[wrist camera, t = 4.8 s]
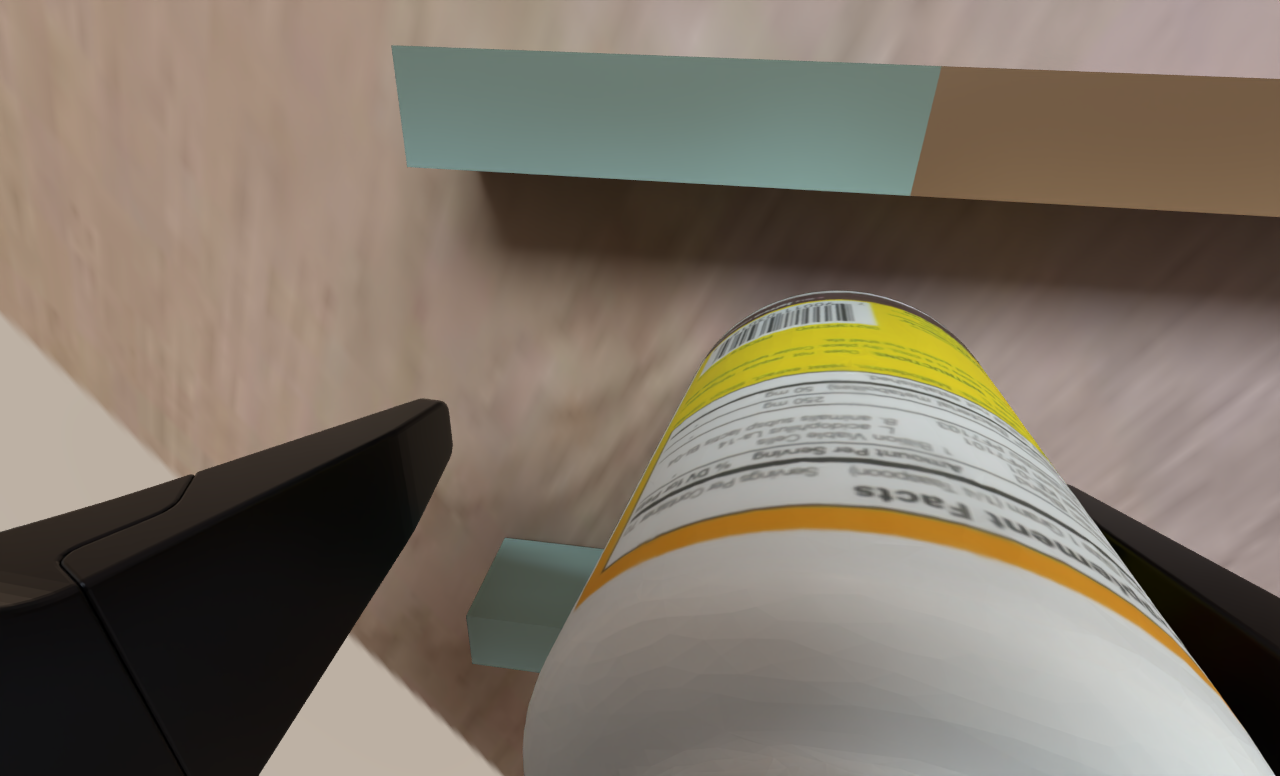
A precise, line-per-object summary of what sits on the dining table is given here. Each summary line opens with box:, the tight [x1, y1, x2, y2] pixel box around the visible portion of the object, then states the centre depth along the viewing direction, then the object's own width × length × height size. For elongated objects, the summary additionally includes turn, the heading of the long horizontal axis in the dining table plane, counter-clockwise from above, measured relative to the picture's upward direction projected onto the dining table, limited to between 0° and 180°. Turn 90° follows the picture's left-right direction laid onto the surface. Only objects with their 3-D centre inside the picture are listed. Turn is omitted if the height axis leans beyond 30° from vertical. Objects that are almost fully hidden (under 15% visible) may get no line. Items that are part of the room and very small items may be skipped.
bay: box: [391, 45, 1280, 673], centre depth 10 cm, size 12×23×2 cm, turn 87°
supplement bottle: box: [523, 291, 1275, 776], centre depth 7 cm, size 6×6×10 cm
